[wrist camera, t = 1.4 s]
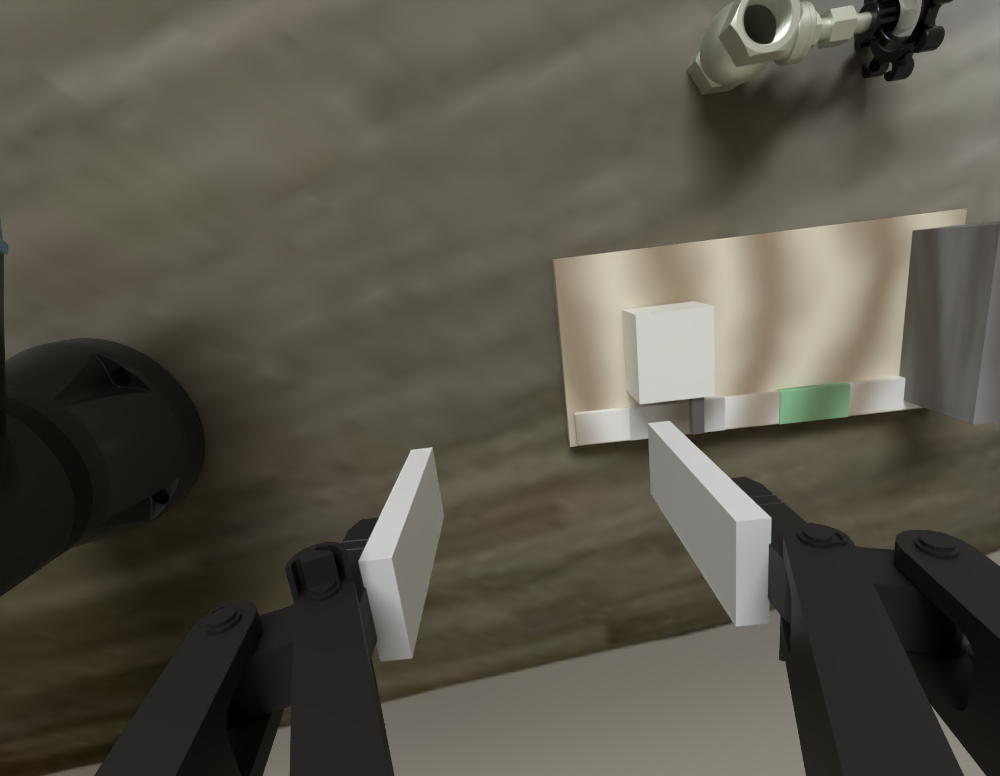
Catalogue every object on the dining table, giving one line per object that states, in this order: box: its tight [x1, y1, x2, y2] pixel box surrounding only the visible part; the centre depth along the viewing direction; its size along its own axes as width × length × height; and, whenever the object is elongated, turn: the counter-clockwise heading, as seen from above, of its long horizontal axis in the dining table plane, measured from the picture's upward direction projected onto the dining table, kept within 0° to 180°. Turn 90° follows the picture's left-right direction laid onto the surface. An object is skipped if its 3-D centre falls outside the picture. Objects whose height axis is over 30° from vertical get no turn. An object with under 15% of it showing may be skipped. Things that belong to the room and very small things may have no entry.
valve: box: [687, 0, 953, 95], centre depth 28 cm, size 7×7×12 cm
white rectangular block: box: [622, 301, 715, 434], centre depth 34 cm, size 5×9×4 cm, turn 7°
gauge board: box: [552, 209, 1000, 447], centre depth 33 cm, size 28×14×7 cm, turn 97°
